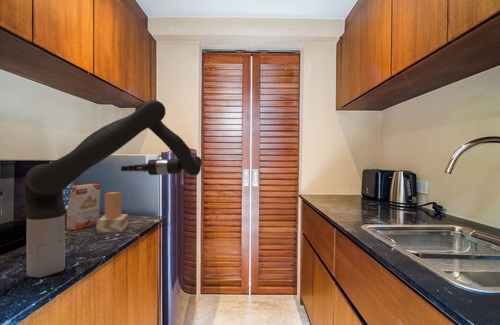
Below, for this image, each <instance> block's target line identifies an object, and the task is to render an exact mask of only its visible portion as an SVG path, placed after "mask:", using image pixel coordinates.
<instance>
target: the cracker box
mask: <svg viewBox="0 0 500 325" xmlns="http://www.w3.org/2000/svg"><path fill="white" fill-rule="evenodd" d="M72 186H73V187H72V192H71V195H70V198H69V203H68V208H67V207H66V225H65V230H69V231H78V230H81V229H85V228H88V227H91V226H93V225H94V226H95V225H96V222H97V220H98V219H99V218H100V205H101V204H100V203H101V202H100V201H101V200H100V199H101V184H99V183H87V184H78V185H72Z"/></svg>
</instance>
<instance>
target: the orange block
mask: <svg viewBox="0 0 500 325" xmlns="http://www.w3.org/2000/svg"><path fill="white" fill-rule="evenodd" d="M121 214H122V192H121V191H111V192H105V193H104V215H105V218H112V219H114V218H117V217H120V216H121Z"/></svg>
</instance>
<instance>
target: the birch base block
mask: <svg viewBox="0 0 500 325" xmlns="http://www.w3.org/2000/svg"><path fill="white" fill-rule="evenodd" d="M95 225H96V227H95V228H96V231H95V232H96V233H114V232H115V233H117V232H119V233H120V232H123V231H124V230H125V229H126V228H127V227H128V225H129V213H121V216H120V217H117V218H114V219H112V218H105V214H103V215H102V216H101V217H99V219H98V220H97V222H96V224H95ZM126 226H127V227H126Z"/></svg>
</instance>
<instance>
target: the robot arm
mask: <svg viewBox="0 0 500 325" xmlns="http://www.w3.org/2000/svg"><path fill="white" fill-rule="evenodd" d="M165 116H166V107H165V105H164V103H163V102H160V101H158V100H155V99H149V100H146V101H142V102H139V103H138V104H137V105H136V107H135V110H134V112H132V113H131V114H128V115H126V116H124V117H122V118H119V119H117V120H115V121H113V122H111V123H108V124H107V125H104V126H103V127H100V128H99V129H98V130H96V131H93V133H91V134H89V135H88V136H87V137H86V138H85V139H83V140H82V141H81V142H80V143H79V144H78V145H77V146H76V147H75V148H74V149H73V150H72V151H70V152H69V153H66V154H65V155H63V156H61V157H59V158H58V159H56V160H53V161H52V162H49V163H48V164H47V163H43V164H37V165H35V166H33V167H31V168H30V169H29V170H28V171H27V173H26V175H25V177H24V205H25V206H24V207H25V211H26V276H28V277H30V278H38V279H40V278H44V277H48V276H51V275H53V274H57V273H60V272H62V271H65V268H66V205H65V202H64V199H63V197H64V196H63V190H65V189H66V188H67V187H69V185H71V184H73V182H74V181H75V180H76V179H78V178H79V177H80V176H81V175H82V174H84V173H85V172H86V171H88V170H89V169H91V168H92V167H94V166H95V165H97V164H99V163H100V162H102V161H103V160H105V159H107V158H108V157H110V156H111V155H113V154H114V153H116V152H117V151H119V150H120V149H121V148H122V147H124V146H125V145H126V144H128V143H130V141H132V140H133V139H134V138H136V137H137V136H138V135H139V134H140V133H142V132H143V131H145V130H147V129H148V130H150V131H151V132H153V134H154V135H155V136H156V137H158V138H159V139H160V140H161V141H162V142H163V143H164V144H165V146H167V148H168V149H169V150H170V151H171V153H173V155H174V156H175V157H176V158H170V159H167V158H163V159H162V158H160V159H159V158H158V159H157V158H156V159H148V161H147V163H137V164H131V165H130V164H129V165H125V166H124V165H123V166H121V167H120V171H121V172H135V173H136V172H137V173H138V172H139V173H144V172H145V173H146V172H148V174H149V175H150V176H161V175H171V174H172V175H173V174H180V173H182V171H183V170H184V172H185V173H187V174H188V175H190V176H192V177H195V176H198V175H199V174H200V172H201V169H202V164H203V162H202V158H201V157H199V156H198V155H192V150H191V149H190V147H189V146H188V144H186V142H185V141H184V140H183V138H182V137H180V136H179V135H178V134H176V133H175V132H173V131H172V130H171V129H170V128H168V126H166V125H165V123H164V122H163V121H162V120H163V119H164V118H165Z"/></svg>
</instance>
